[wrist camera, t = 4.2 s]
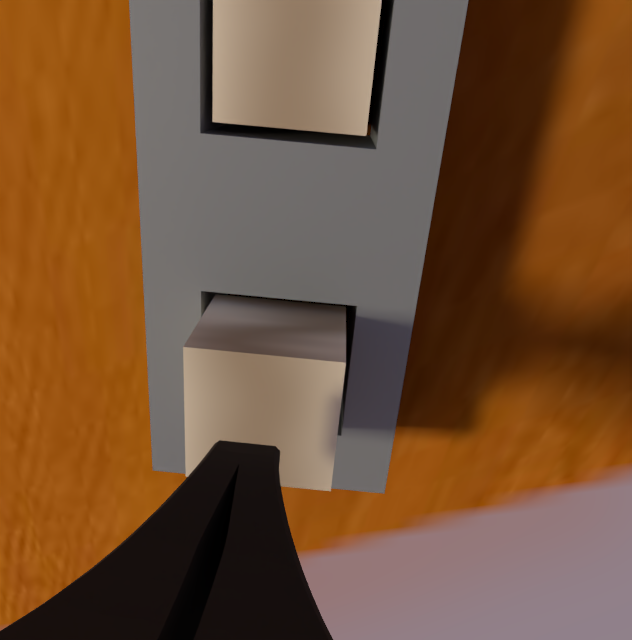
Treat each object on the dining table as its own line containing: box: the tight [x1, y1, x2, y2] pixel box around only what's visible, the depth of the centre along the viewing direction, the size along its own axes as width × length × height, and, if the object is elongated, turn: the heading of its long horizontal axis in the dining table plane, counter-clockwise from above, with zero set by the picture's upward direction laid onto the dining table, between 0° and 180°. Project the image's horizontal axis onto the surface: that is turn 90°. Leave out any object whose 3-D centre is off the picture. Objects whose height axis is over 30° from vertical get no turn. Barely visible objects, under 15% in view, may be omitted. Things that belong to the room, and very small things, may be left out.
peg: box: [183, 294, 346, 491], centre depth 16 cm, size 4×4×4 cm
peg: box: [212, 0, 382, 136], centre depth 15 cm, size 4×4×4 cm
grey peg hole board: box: [129, 0, 469, 493], centre depth 17 cm, size 8×18×4 cm, turn 175°
